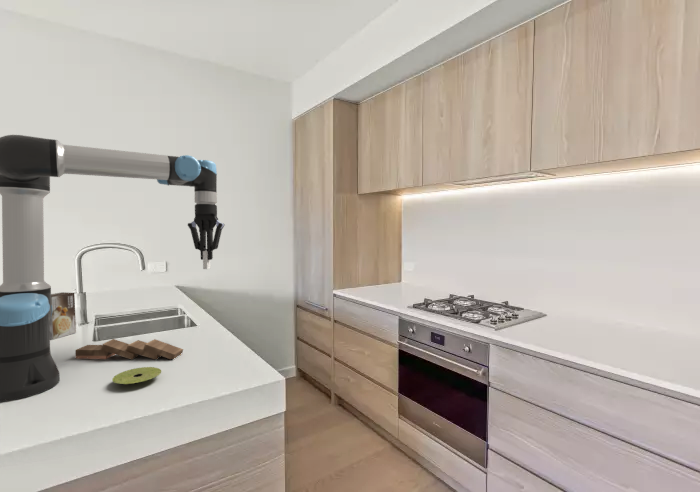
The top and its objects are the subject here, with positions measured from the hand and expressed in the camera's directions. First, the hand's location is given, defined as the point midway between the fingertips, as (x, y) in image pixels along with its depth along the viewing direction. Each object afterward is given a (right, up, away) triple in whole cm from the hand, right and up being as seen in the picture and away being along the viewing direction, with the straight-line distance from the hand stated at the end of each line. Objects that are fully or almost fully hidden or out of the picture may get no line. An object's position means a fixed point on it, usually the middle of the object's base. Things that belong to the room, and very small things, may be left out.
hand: (206, 268), depth 131 cm
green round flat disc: (-4, -28, -36) cm, 46 cm away
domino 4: (-8, -26, -17) cm, 32 cm away
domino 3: (-15, -26, -17) cm, 35 cm away
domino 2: (-24, -27, -16) cm, 39 cm away
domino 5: (-2, -26, -17) cm, 31 cm away
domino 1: (-23, -25, -17) cm, 38 cm away
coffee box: (-59, -26, +6) cm, 65 cm away
